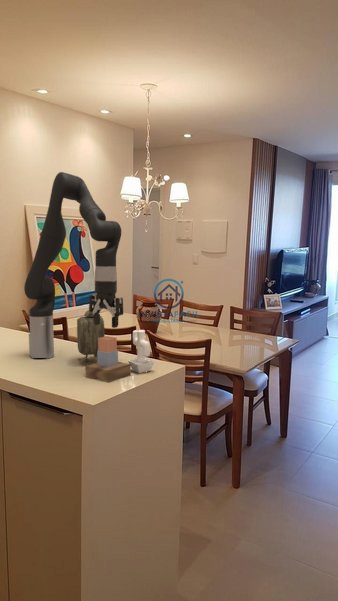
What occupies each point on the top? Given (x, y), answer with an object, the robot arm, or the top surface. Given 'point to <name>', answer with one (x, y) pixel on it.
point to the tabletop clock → (89, 334)
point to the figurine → (141, 353)
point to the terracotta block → (107, 344)
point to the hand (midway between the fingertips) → (105, 326)
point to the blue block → (107, 358)
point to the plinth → (108, 371)
